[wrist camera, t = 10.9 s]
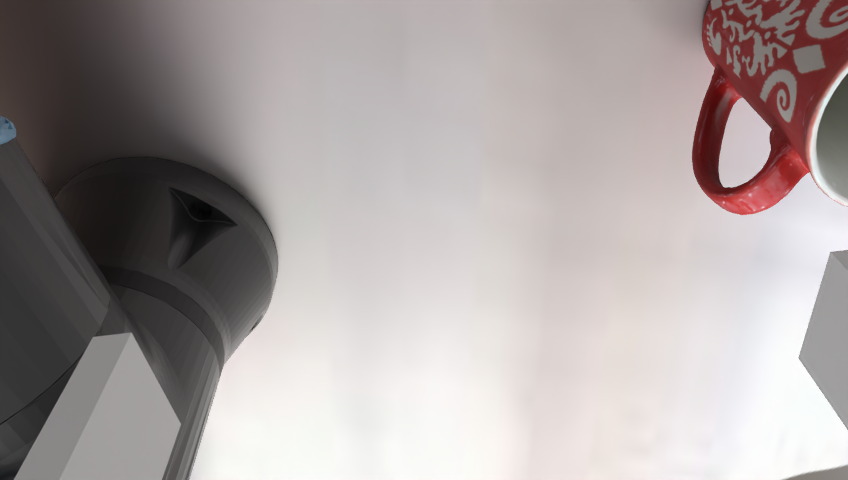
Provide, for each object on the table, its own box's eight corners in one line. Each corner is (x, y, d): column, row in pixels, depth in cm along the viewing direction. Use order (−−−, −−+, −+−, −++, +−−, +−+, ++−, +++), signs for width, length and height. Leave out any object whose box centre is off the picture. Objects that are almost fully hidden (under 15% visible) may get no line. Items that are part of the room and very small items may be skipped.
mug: (807, -118, 32) (1020, -65, 21) (881, 12, 36) (1092, 115, 25) (600, 59, 37) (684, 177, 26) (684, 157, 41) (788, 296, 30)
